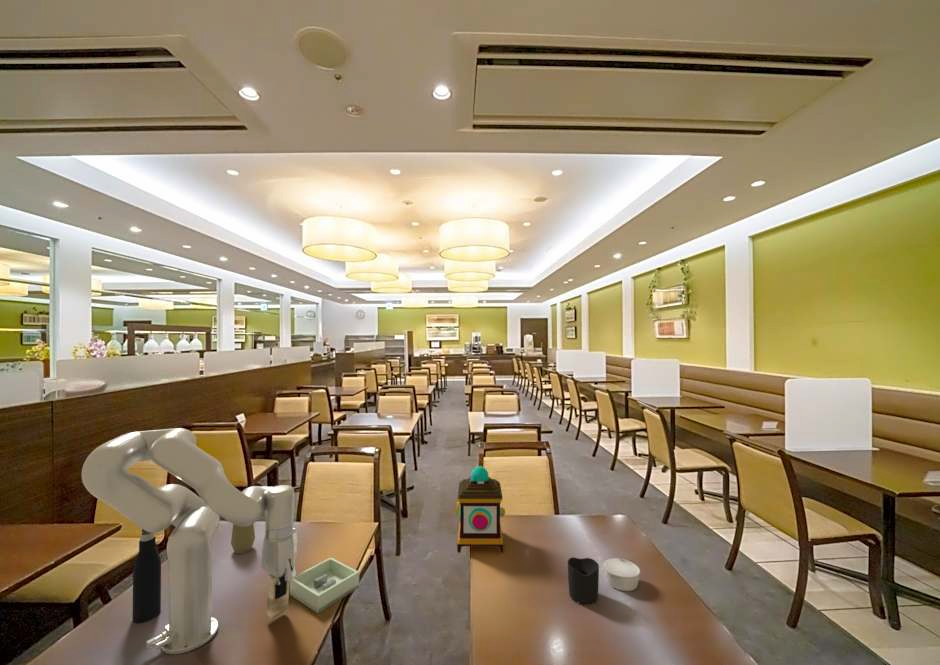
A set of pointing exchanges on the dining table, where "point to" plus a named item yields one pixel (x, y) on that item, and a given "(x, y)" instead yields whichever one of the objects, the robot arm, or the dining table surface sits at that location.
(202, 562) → the robot arm
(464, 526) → the decorative lantern
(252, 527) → the squeeze bottle
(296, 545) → the metal tumbler
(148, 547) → the wine bottle
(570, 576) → the pen holder
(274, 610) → the upright wooden plank
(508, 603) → the dining table surface
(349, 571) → the pale green prong tray
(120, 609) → the dining table surface
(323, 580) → the wick clip
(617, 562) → the ramekin
